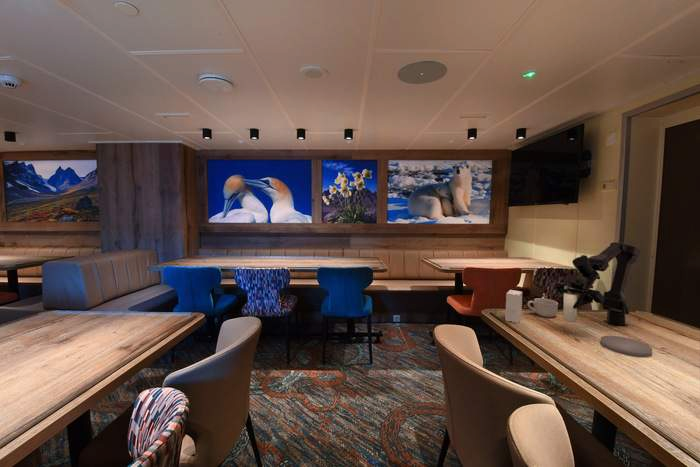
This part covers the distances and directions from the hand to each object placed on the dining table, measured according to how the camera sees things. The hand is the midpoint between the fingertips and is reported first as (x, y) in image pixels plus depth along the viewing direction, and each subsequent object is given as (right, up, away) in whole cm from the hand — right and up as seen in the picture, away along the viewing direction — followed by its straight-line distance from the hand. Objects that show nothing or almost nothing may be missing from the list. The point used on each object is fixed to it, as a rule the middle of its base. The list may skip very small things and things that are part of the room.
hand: (567, 306), depth 129 cm
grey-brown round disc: (+13, -13, -13) cm, 23 cm away
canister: (+1, -7, +1) cm, 7 cm away
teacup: (+6, -12, +26) cm, 29 cm away
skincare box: (-14, -12, +19) cm, 26 cm away
